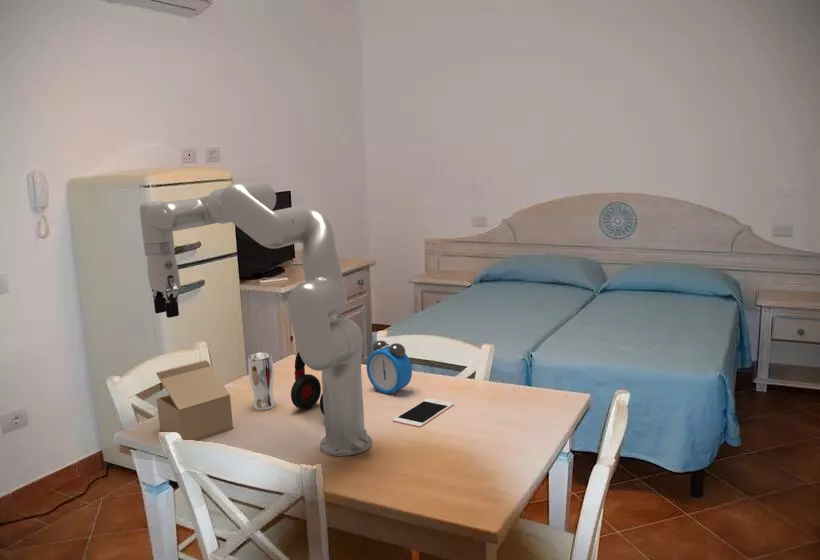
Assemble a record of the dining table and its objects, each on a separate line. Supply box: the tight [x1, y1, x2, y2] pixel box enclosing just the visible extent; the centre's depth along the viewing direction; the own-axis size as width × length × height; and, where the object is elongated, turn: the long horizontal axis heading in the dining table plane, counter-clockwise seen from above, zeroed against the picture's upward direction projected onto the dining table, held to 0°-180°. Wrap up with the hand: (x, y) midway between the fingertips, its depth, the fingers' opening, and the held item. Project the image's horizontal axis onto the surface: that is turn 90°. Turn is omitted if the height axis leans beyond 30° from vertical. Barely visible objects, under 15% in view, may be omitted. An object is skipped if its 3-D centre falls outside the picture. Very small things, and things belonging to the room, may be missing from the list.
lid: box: [156, 359, 231, 411], centre depth 181 cm, size 14×14×1 cm
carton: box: [155, 394, 234, 441], centre depth 183 cm, size 14×14×9 cm
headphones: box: [290, 351, 324, 416], centre depth 189 cm, size 18×10×20 cm, turn 48°
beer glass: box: [247, 352, 276, 411], centre depth 197 cm, size 7×7×15 cm
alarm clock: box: [366, 340, 413, 396], centre depth 204 cm, size 13×6×15 cm, turn 51°
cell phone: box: [392, 397, 455, 428], centre depth 188 cm, size 9×18×1 cm, turn 147°
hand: (167, 313), depth 186 cm, fingers open, 6 cm apart
